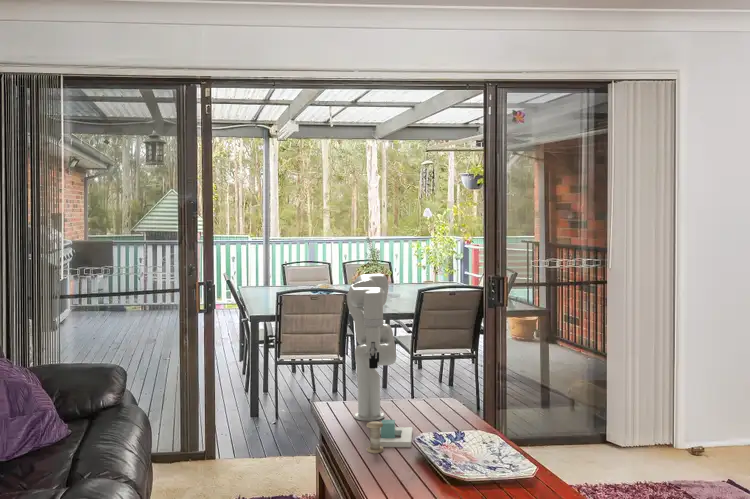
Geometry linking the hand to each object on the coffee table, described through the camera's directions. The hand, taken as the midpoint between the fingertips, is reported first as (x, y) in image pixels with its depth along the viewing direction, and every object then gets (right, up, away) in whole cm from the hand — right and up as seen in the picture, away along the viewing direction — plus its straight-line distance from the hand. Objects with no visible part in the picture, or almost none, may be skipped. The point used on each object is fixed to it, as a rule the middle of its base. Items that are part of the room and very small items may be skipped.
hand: (374, 365), depth 298 cm
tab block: (+5, -28, -6) cm, 29 cm away
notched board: (+7, -28, -7) cm, 29 cm away
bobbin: (0, -29, -19) cm, 34 cm away
